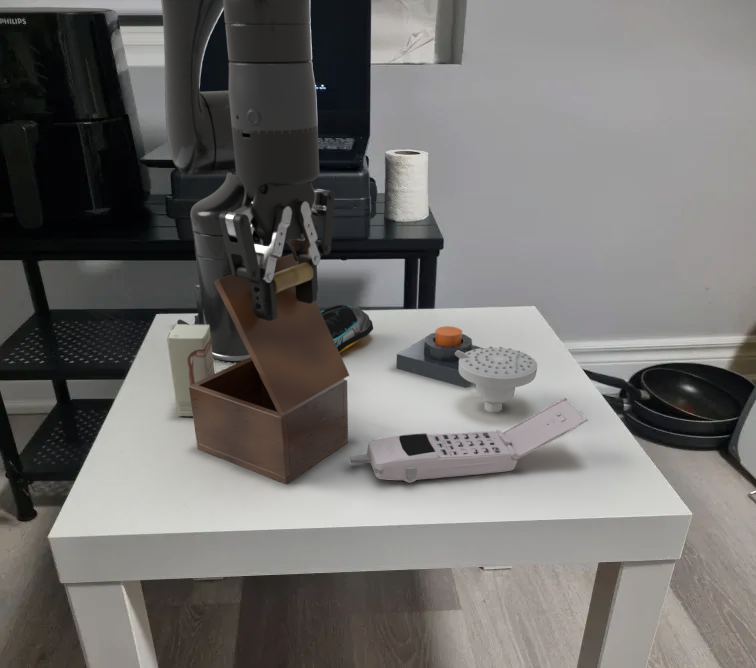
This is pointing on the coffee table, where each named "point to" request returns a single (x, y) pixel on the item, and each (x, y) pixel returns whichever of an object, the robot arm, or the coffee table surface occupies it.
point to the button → (448, 336)
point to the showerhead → (496, 373)
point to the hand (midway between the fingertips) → (287, 309)
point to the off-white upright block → (189, 361)
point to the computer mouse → (346, 325)
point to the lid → (285, 336)
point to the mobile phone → (468, 447)
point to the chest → (266, 423)
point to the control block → (435, 360)
